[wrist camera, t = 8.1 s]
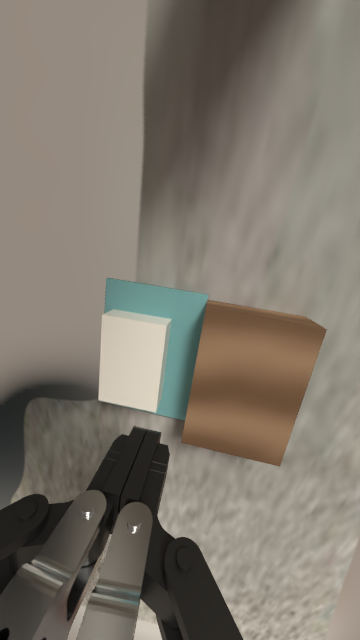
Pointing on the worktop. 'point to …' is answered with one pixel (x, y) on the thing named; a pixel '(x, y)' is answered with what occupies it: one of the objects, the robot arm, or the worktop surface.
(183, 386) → the mat
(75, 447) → the worktop surface
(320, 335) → the board
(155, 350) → the tile
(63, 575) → the robot arm
